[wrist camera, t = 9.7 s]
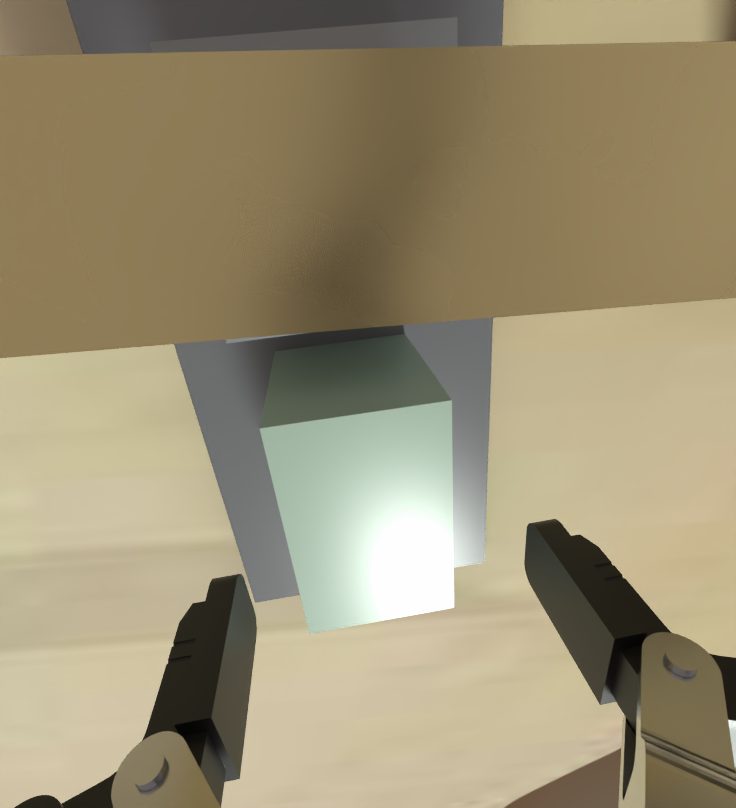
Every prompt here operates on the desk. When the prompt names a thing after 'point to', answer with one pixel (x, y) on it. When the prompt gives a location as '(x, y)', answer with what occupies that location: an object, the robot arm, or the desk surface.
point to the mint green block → (362, 479)
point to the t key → (357, 188)
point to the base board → (252, 357)
